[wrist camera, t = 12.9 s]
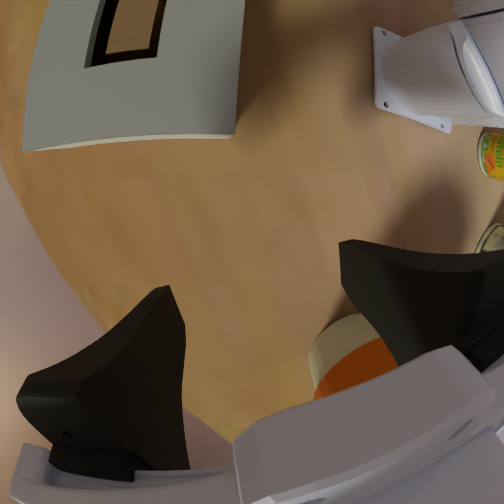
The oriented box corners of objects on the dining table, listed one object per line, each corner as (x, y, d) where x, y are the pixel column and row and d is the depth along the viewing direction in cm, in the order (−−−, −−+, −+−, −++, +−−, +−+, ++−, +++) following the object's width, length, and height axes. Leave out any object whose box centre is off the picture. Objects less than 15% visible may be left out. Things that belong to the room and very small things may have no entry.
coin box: (241, -20, 12) (252, -63, 7) (227, 139, 17) (234, 133, 12) (94, -6, 10) (67, -38, 5) (68, 147, 15) (22, 152, 10)
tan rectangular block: (170, 25, 13) (160, -6, 9) (163, 71, 15) (148, 48, 10) (137, 28, 13) (119, -1, 8) (129, 74, 14) (105, 53, 10)
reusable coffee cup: (378, 376, 29) (433, 463, 16) (284, 394, 28) (321, 510, 14) (409, 291, 25) (505, 381, 11) (299, 302, 23) (381, 454, 9)
